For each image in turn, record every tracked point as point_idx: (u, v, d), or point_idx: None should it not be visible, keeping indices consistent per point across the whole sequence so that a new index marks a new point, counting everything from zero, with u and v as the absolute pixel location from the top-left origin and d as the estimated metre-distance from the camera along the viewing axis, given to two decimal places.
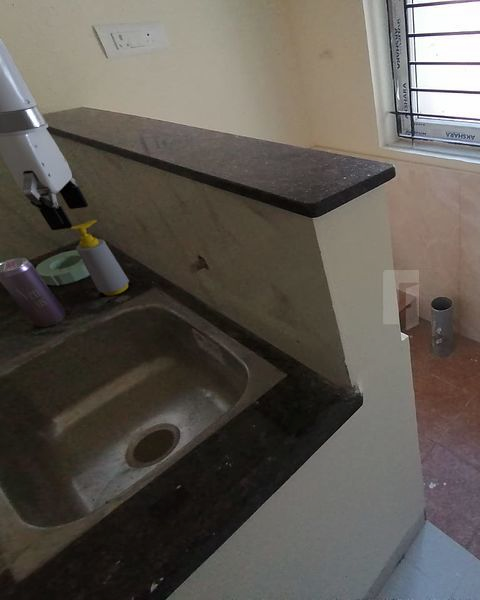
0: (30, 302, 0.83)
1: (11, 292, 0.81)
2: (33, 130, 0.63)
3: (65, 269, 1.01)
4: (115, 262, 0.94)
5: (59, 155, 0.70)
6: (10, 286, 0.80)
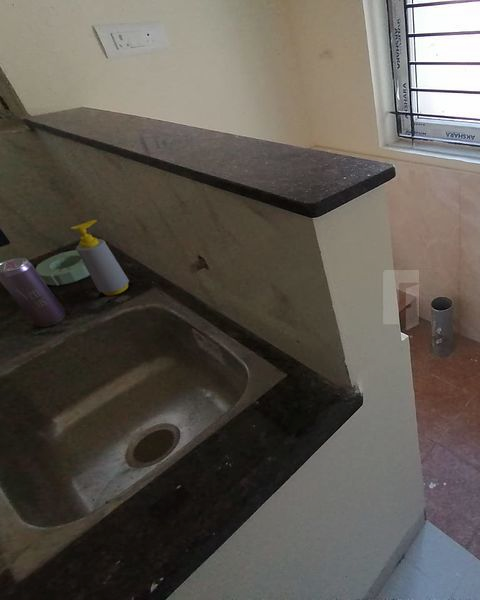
0: (30, 302, 0.83)
1: (11, 292, 0.81)
2: None
3: (65, 269, 1.01)
4: (115, 262, 0.94)
5: None
6: (10, 286, 0.80)
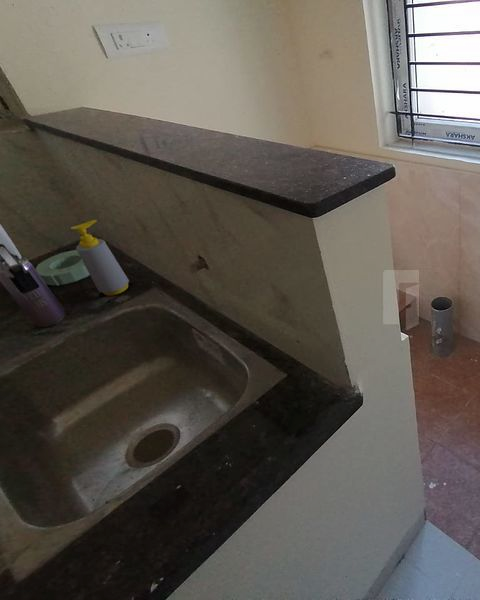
0: (30, 302, 0.83)
1: (11, 292, 0.81)
2: None
3: (65, 269, 1.01)
4: (115, 262, 0.94)
5: None
6: (10, 286, 0.80)
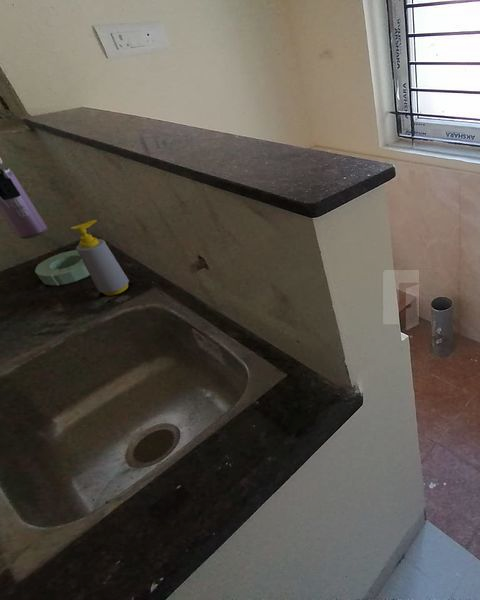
0: (11, 210, 0.86)
1: None
2: None
3: (65, 269, 1.01)
4: (115, 262, 0.94)
5: None
6: None
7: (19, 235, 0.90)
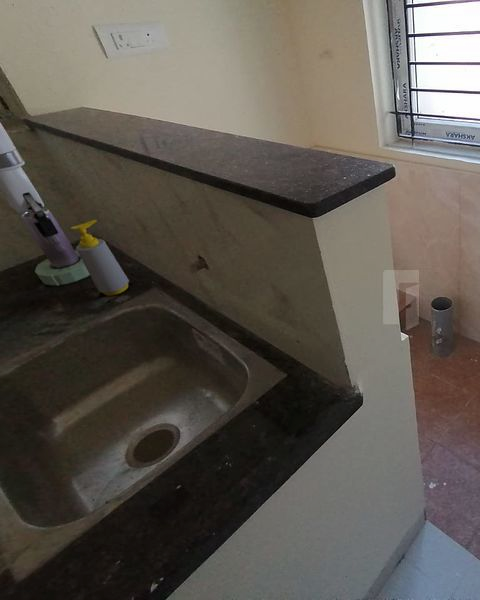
0: (50, 245, 0.98)
1: (35, 236, 0.96)
2: (22, 164, 0.89)
3: (65, 269, 1.01)
4: (115, 262, 0.94)
5: None
6: (34, 230, 0.95)
7: (56, 266, 1.02)
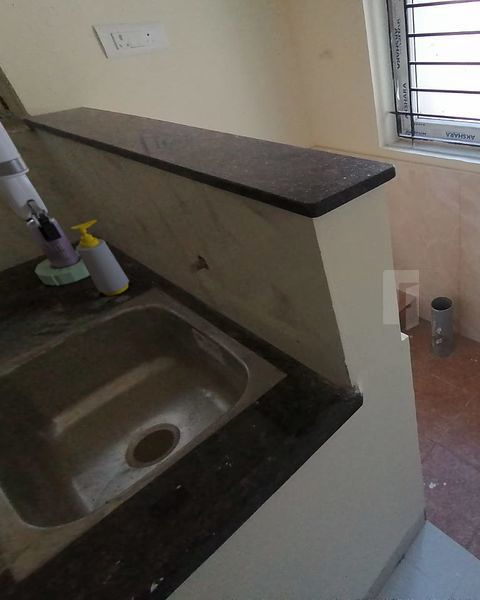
0: (55, 253, 0.99)
1: (40, 244, 0.98)
2: (26, 171, 0.90)
3: (65, 269, 1.01)
4: (115, 262, 0.94)
5: None
6: (39, 238, 0.96)
7: None
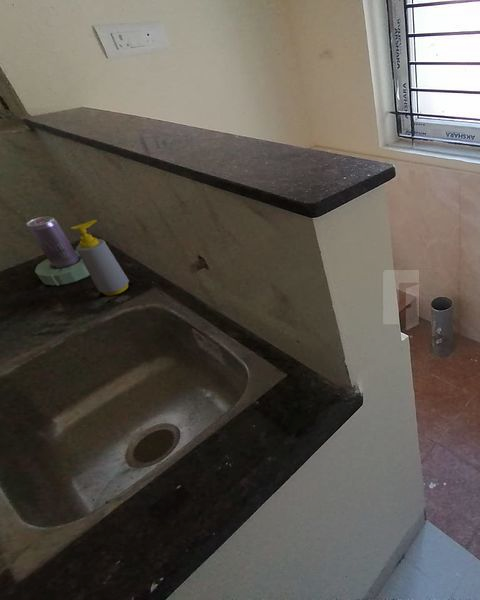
0: (55, 253, 0.99)
1: (40, 244, 0.98)
2: None
3: (65, 269, 1.01)
4: (115, 262, 0.94)
5: None
6: (39, 238, 0.96)
7: None
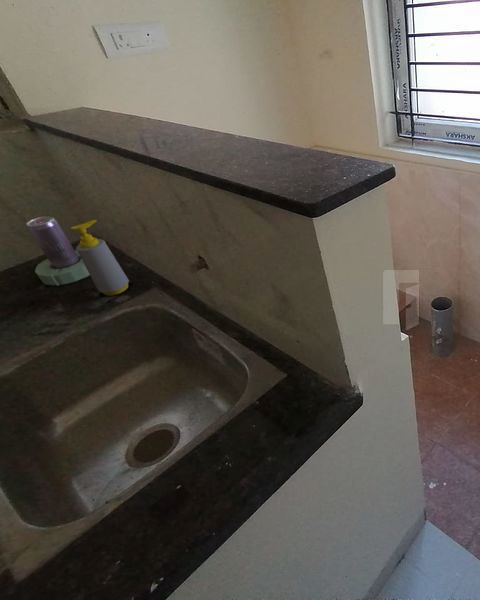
0: (55, 253, 0.99)
1: (40, 244, 0.98)
2: None
3: (65, 269, 1.01)
4: (115, 262, 0.94)
5: None
6: (39, 238, 0.96)
7: None
